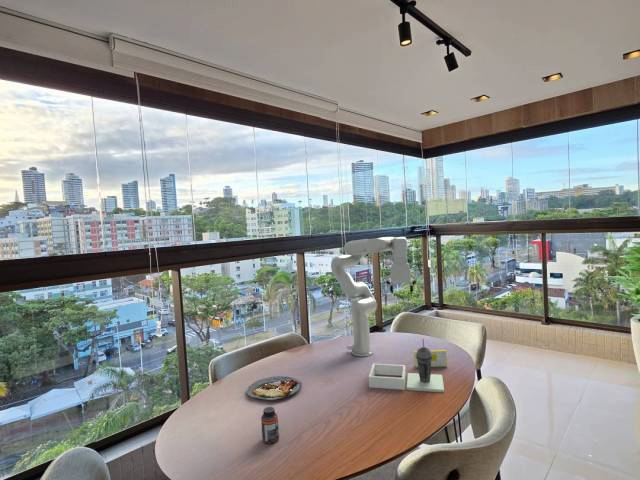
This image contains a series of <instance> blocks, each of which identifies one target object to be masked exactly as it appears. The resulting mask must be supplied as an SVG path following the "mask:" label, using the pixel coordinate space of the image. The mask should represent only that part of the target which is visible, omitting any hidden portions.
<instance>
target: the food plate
mask: <svg viewBox="0 0 640 480" xmlns="http://www.w3.org/2000/svg"><path fill="white" fill-rule="evenodd" d="M279 381H280V382H281V383H279V386H277V385H278V384H273V383H274V382H279ZM285 381H286V382H285ZM287 382H289V383H287ZM269 383H271V384H269ZM265 384H267V385H265ZM260 387H261V388H260ZM278 387H279V390H282V391H278V390H277V391H275V390H268V389H276V388H278ZM259 388H260V389H259ZM264 388H266V389H264ZM301 388H302V382H301V381H300V380H299V379H298V378H297V379H296V378H295V377H289V376H283V375H275V376H270V377H269V376H268V377H264V378H260V379H259V380H255V381H254V382H253V383H251V384H250V385H249V386H248V387H247V388H246V394H247V395H248V396H250V397H251V398H256V399H260V400H261V399H262V400H268V401H277V400H281V399H285V398H288V397H291V396H292V395H294V394H296V393H297V392H298V391H300V390H301ZM290 389H292V391H290Z"/></svg>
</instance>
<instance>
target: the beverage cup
mask: <svg viewBox="0 0 640 480" xmlns="http://www.w3.org/2000/svg"><path fill="white" fill-rule="evenodd" d="M416 351H417V353H416V358H417V362H418V367H417V369H418V373H419V377H420V381H421V382H423V383H428V382H430V375H431V374H432V373H431V370H432V367H431V361H432V354H431V352H430V351H431V350H430V349H429V348H427V347H425V339H424V338H422V347H420V348H418V349H417V350H416Z"/></svg>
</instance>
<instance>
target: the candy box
mask: <svg viewBox="0 0 640 480" xmlns="http://www.w3.org/2000/svg"><path fill="white" fill-rule="evenodd" d="M417 351H418V350H414V351H413V358H414V360H413V361H414V367H415V368H418V362H417V358H416V353H417ZM430 352H431V354H432V361H431V368H447V367H448V362H447V350H446V349H443V350H442V349H441V350H440V349H438V350H430Z"/></svg>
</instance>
